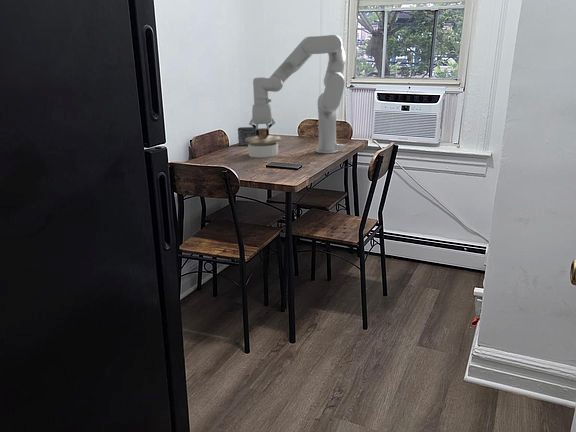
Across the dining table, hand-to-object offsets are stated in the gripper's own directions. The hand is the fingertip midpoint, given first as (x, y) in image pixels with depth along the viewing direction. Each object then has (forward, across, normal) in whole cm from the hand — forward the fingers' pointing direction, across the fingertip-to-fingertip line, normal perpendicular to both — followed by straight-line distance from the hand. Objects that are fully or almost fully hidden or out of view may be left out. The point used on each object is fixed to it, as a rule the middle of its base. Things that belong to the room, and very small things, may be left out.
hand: (262, 136), depth 274 cm
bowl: (+10, 0, 0) cm, 10 cm away
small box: (+10, +9, -32) cm, 35 cm away
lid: (+2, 0, 0) cm, 2 cm away
